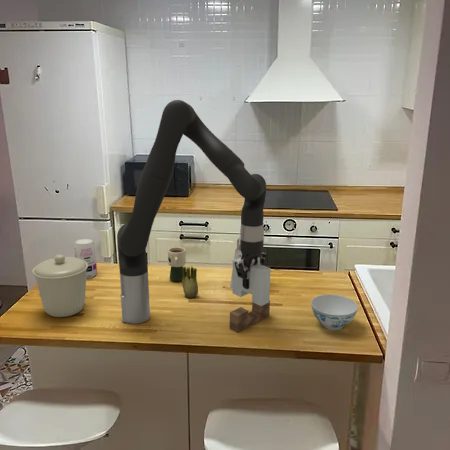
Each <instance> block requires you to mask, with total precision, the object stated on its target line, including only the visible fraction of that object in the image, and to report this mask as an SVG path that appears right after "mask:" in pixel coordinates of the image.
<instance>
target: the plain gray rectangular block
mask: <svg viewBox="0 0 450 450" xmlns="http://www.w3.org/2000/svg"><path fill="white" fill-rule="evenodd" d="M240 260H241V258H238V259H235V260H234V259H232V270H233V288H231V289H232V291H231V292H232V294H233V295H236V296H237V297H239V298H242V297H244V296H246V295H249V294H250V295H252V296H251V299H252V300H251V302H253V303H255V304H258V305H260V306H263V305H265V304H267V303H269V300H270V293H271V292H270V291H271V267H269V266H266V265H265V266H263V265H262V263H261V264H258V265H257V264H256V265H253V267H251V272H250V277H249V289H245V288H243V286H242V284H243V278H240V277H238V275H237V271H236V268H235V262H236V261H237V262H239V261H240ZM244 267H245V266H244ZM245 268H246V269H249V268H247V267H245ZM245 274H247V272H246V271H245Z"/></svg>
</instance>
